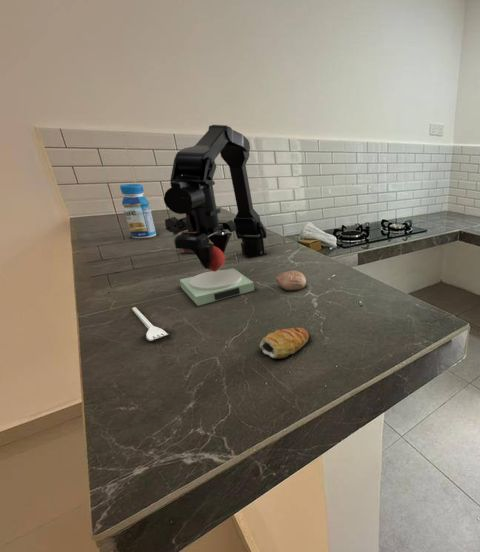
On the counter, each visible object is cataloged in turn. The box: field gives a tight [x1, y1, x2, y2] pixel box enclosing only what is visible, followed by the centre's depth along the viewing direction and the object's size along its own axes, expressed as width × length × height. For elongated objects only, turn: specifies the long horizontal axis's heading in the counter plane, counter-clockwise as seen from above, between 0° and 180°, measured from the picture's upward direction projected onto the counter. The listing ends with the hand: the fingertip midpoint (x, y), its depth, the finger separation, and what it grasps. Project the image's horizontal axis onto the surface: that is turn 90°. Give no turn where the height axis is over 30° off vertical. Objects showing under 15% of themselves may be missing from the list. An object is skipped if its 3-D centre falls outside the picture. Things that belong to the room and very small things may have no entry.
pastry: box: [259, 327, 310, 359], centre depth 65 cm, size 9×7×4 cm
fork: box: [131, 306, 170, 342], centre depth 70 cm, size 3×20×2 cm, turn 50°
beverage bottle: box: [119, 183, 157, 239], centre depth 126 cm, size 8×8×20 cm
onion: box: [200, 241, 226, 271], centre depth 85 cm, size 6×6×8 cm
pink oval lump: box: [275, 269, 307, 292], centre depth 92 cm, size 8×6×8 cm
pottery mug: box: [179, 230, 196, 254], centre depth 117 cm, size 12×10×8 cm
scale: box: [179, 267, 255, 306], centre depth 88 cm, size 14×14×3 cm
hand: (213, 264), depth 86 cm, fingers closed on onion, 6 cm apart
